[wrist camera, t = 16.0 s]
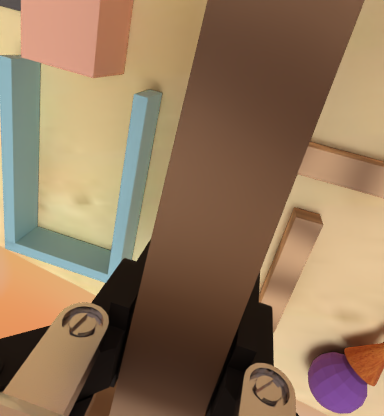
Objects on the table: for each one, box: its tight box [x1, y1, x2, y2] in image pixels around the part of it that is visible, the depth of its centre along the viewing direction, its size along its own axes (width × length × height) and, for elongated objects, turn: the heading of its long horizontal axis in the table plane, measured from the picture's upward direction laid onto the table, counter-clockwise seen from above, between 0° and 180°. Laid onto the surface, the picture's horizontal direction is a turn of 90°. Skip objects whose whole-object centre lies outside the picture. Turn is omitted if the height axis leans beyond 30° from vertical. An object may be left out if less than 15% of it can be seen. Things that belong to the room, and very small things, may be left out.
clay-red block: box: [21, 0, 133, 78], centre depth 26 cm, size 6×6×6 cm
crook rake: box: [88, 0, 364, 416], centre depth 13 cm, size 28×8×10 cm, turn 166°
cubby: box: [0, 55, 162, 283], centre depth 33 cm, size 20×13×4 cm, turn 166°
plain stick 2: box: [297, 142, 384, 198], centre depth 29 cm, size 14×2×2 cm, turn 77°
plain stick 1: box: [259, 207, 323, 332], centre depth 34 cm, size 14×2×2 cm, turn 168°
